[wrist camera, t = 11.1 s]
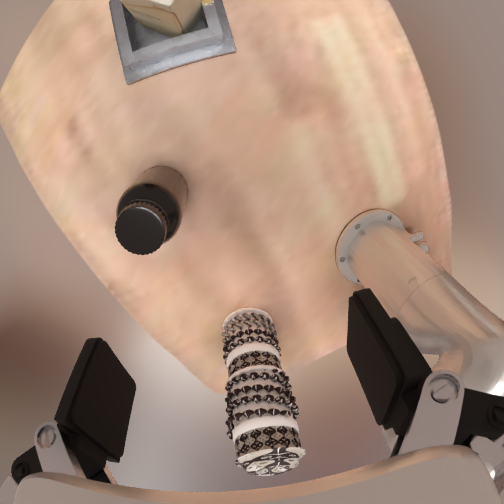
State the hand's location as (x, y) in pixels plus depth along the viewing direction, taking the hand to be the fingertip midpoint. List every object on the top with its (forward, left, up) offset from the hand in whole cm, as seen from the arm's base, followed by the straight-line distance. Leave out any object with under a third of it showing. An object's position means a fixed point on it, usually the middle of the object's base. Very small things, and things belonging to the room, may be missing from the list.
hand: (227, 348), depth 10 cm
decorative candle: (+2, +25, -27) cm, 37 cm away
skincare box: (0, -21, -26) cm, 33 cm away
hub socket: (+1, -21, -27) cm, 34 cm away
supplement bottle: (+7, 0, -27) cm, 28 cm away
